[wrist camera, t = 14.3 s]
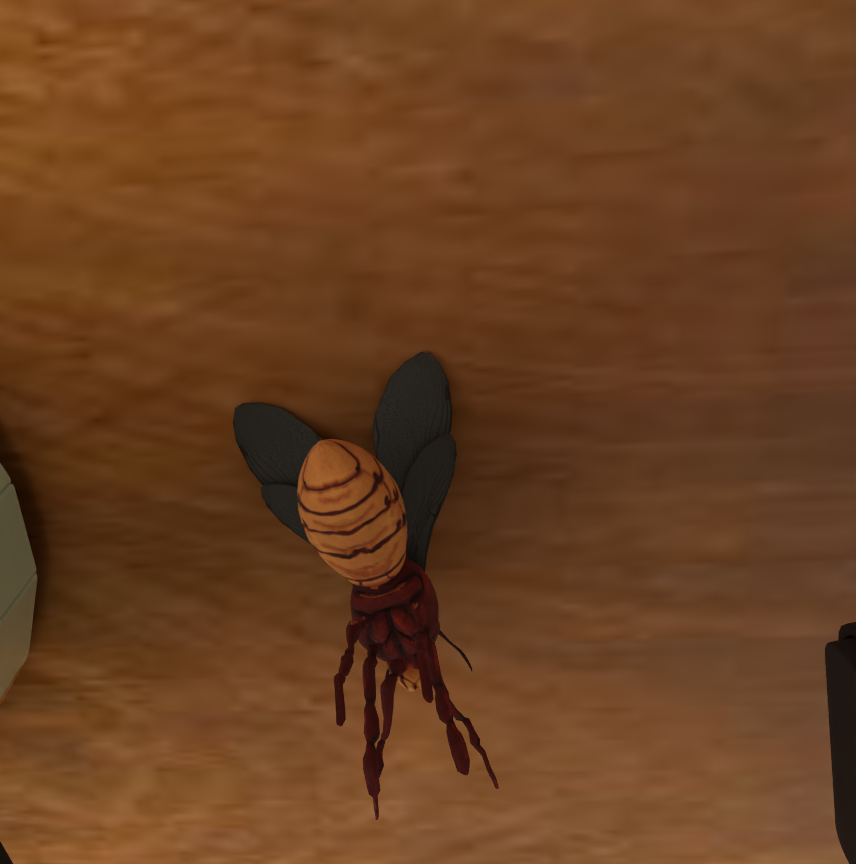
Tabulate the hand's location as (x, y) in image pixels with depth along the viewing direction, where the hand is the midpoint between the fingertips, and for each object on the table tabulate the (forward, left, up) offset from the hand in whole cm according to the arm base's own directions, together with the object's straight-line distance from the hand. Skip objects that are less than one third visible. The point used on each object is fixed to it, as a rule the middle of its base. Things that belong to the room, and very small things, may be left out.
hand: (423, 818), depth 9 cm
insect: (0, 0, -2) cm, 2 cm away
